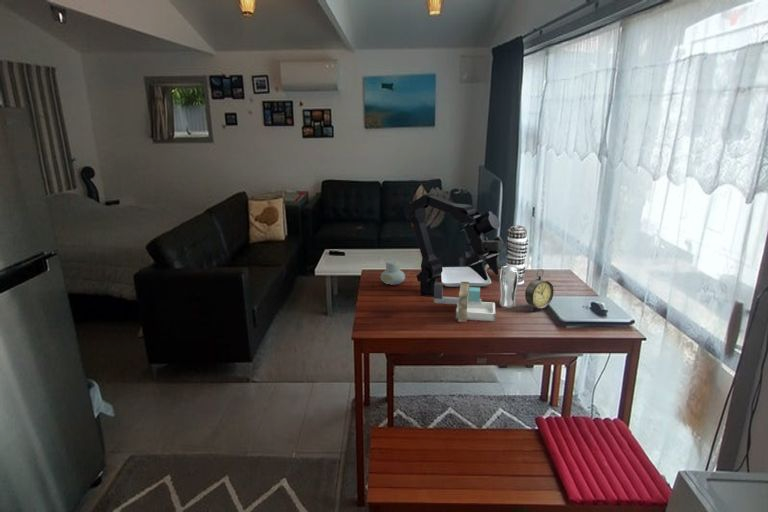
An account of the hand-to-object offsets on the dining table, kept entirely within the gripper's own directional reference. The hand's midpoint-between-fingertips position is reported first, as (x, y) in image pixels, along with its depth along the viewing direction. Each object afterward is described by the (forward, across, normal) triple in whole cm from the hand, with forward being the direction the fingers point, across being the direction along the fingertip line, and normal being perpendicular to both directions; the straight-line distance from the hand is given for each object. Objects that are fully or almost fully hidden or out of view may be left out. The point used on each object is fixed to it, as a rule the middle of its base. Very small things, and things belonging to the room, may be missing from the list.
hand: (492, 277), depth 170 cm
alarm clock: (+18, +15, -4) cm, 24 cm away
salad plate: (-1, +27, +28) cm, 39 cm away
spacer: (+5, -4, +8) cm, 11 cm away
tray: (+11, -3, +11) cm, 15 cm away
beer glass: (+13, +12, +5) cm, 19 cm away
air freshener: (-12, +6, +50) cm, 52 cm away
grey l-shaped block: (+5, -6, +14) cm, 16 cm away
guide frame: (+9, -5, +14) cm, 18 cm away
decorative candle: (+8, +38, +11) cm, 41 cm away
